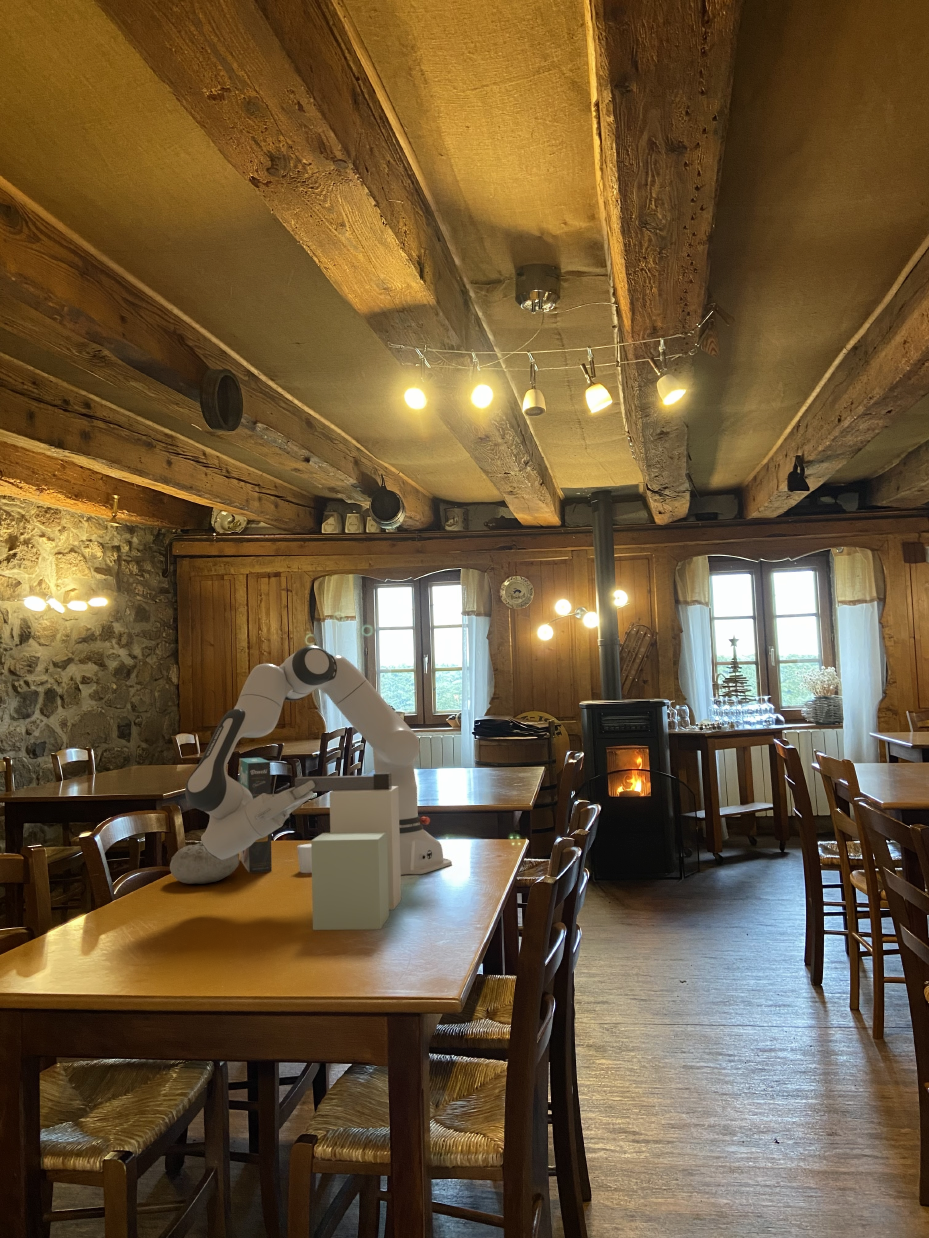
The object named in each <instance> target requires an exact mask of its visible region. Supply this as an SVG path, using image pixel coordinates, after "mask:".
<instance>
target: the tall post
mask: <svg viewBox="0 0 929 1238" xmlns="http://www.w3.org/2000/svg"><path fill="white" fill-rule="evenodd" d="M329 827H330V828H329V831H330V832H329V833H339V832H387V856H388V896H389V911H394V910H395V909H396V908H397V906H398V905H399V903H400V901H401V900H402V883H401V882H402V878H401V877H402V875H401V871H400V833H399V795H398V786H392V788H391V789H389V790H342V791H329Z"/></svg>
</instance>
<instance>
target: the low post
mask: <svg viewBox="0 0 929 1238" xmlns="http://www.w3.org/2000/svg"><path fill="white" fill-rule="evenodd" d="M311 849H312V873H311V885H312V886H311V887H312V888H311V891H312V892H311V893H312V895H311V898H312V903H311V904H312V930H313V931H332V930H333V931H335V930H336V931H337V930H338V931H339V930H341V931H342V930H343V931H344V930H346V931H348V930H357V931H358V930H381V929H382V928H383V926H384V925H385V923H387V921H388V919H389V918H390V910H389V896H388V856H387V832H339V833H330V832H322V833H320V834H319V835H318V836H316V837H314V838H313V839H311Z"/></svg>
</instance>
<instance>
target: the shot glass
mask: <svg viewBox="0 0 929 1238" xmlns="http://www.w3.org/2000/svg"><path fill="white" fill-rule="evenodd" d="M296 848H297V849H296V850H297V858H298V866H299V867H298V868H299V873H302V874H312V849H311V843H310V842H309V843H301V844H298V845H297V846H296Z"/></svg>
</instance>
